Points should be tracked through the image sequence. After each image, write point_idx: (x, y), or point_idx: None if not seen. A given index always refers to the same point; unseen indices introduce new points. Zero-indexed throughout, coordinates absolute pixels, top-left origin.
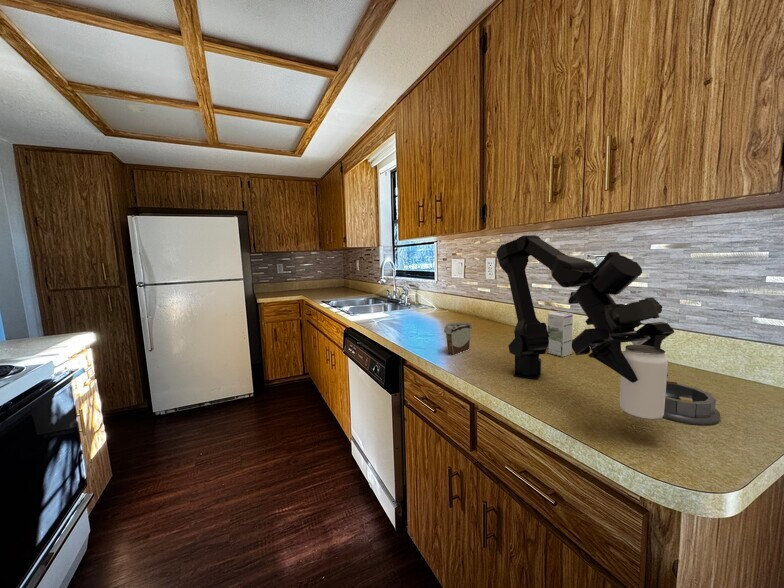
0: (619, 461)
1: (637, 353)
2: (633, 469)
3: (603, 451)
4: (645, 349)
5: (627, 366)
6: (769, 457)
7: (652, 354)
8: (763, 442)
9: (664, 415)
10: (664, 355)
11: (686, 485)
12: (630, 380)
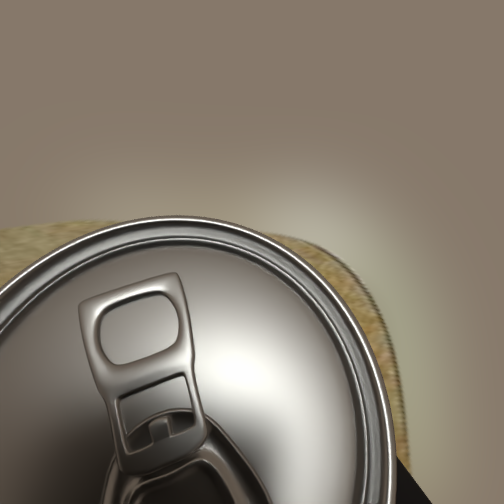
0: (399, 398)
1: (373, 410)
2: (396, 362)
3: (399, 452)
4: (76, 434)
5: (400, 474)
6: (96, 225)
7: (305, 269)
8: (21, 243)
9: None
10: (159, 236)
11: (346, 280)
12: None
